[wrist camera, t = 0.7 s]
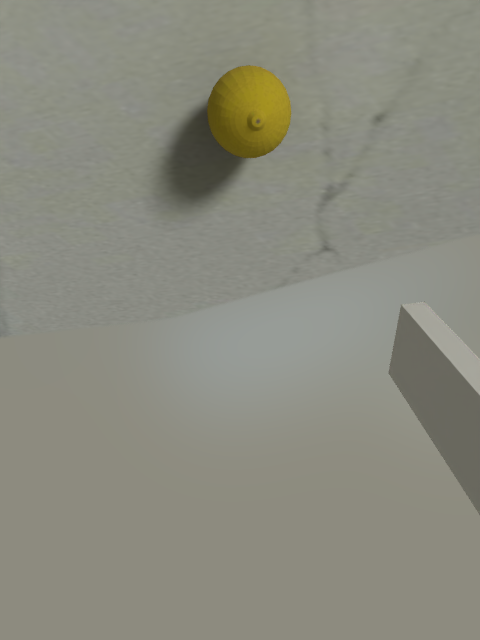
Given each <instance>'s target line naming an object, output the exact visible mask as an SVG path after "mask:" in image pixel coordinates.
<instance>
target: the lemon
mask: <svg viewBox="0 0 480 640" xmlns="http://www.w3.org/2000/svg"><path fill="white" fill-rule="evenodd" d="M207 114H208V123H209V126H210V129H211V132H212V134H213V136H214V137H215V139H216V141H217V142H218V143H219V144H220V145H221V146H222V147H223V148H224V149H225V150H226V151H228V152H230V153H231V154H233V155H235V156H239V157H243V158H256V157H260V156H263V155H266V154H267V153H269V152H271V151H273V150H274V149H275V148H276V147H277V146H278V145H279V144H280V143H281V142H282V140H283V138H284V137H285V135H286V133H287V131H288V128H289V125H290V119H291V106H290V100H289V97H288V94H287V91H286V89H285V87H284V86H283V84H282V83H281V81H280V80H279V79H278V78H277V77H276V76H275V75H274V74H272V73H271V72H270V71H267V70H265V69H263V68H261V67H257V66H250V65H249V66H242V67H237V68H235V69H233V70H230V71H228V72H227V73H226V74H225V75H223V76H222V77H221V78H220V79H219V80H218V82H217V83H216V85H215V86H214V87H213V90H212V92H211V95H210V97H209V101H208V108H207Z"/></svg>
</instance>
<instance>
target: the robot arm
mask: <svg viewBox="0 0 480 640" xmlns="http://www.w3.org/2000/svg"><path fill="white" fill-rule="evenodd" d="M389 375H390V376H391V378H392V379H393V381H394V382H395V384H396V385H397V387H398V388H399V390H400V392H401V393H402V395H403V396H404V398H405V399H406V401H407V402H408V404H409V405H410V407H411V409H412V410H413V412H414V413H415V415H416V416H417V418H418V420H419V421H420V423H421V424H422V426H423V427H424V429H425V430H426V432H427V434H428V435H429V437H430V438H431V440H432V441H433V443H434V444H435V446H436V448H437V449H438V451H439V452H440V454H441V455H442V457H443V458H444V460H445V461H446V463H447V465H448V466H449V467H450V469H451V471H452V472H453V474H454V476H455V477H456V479H457V480H458V482H459V483H460V485H461V486H462V488H463V490H464V491H465V492H466V494H467V495H468V497H469V499H470V500H471V502H472V503H473V505H474V507H475V508H476V510H477V511H478V513H479V514H480V359H479V358H478V357H477V356H476V355H475V354H474V353H473V352H472V351H471V350H470V349H469V348H468V347H467V346H466V345H465V343H464V342H463V341H462V340H461V339H460V338H459V337H458V336H457V335H456V334H455V333H454V332H453V331H452V330H451V329H450V328H449V327H448V326H447V325H446V324H445V323H444V322H443V321H442V320H441V319H440V317H439V316H437V314H436V313H435V312H434V311H433V310H432V309H431V308H430V307H429V306H428V305H427V304H426V303H424V302H421V303H412V304H402V305H401V308H400V314H399V320H398V325H397V330H396V336H395V341H394V346H393V352H392V357H391V363H390V369H389Z"/></svg>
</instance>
